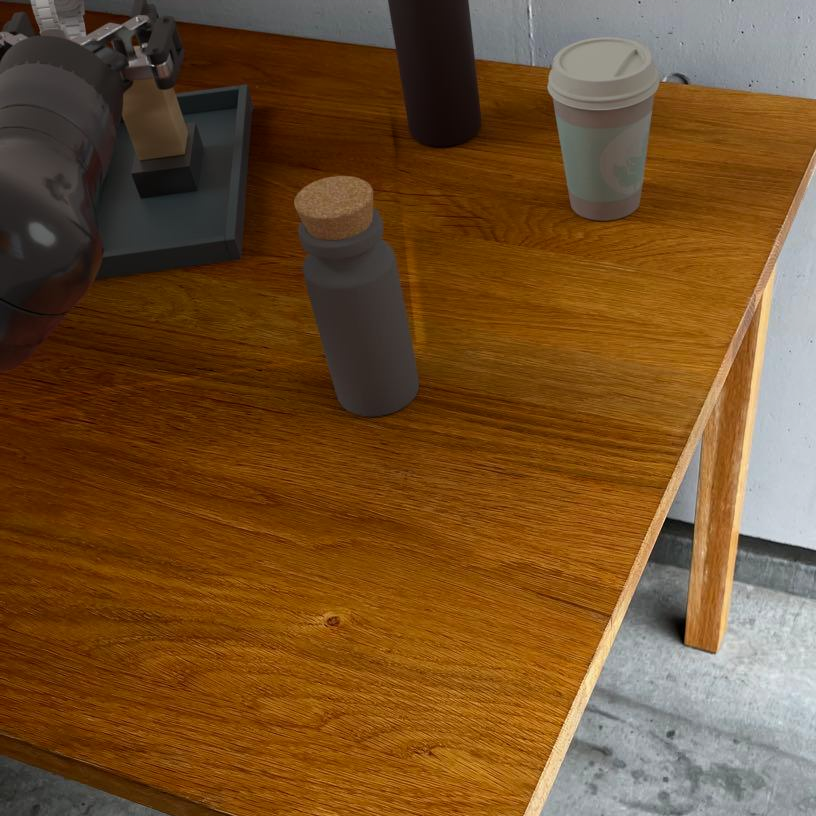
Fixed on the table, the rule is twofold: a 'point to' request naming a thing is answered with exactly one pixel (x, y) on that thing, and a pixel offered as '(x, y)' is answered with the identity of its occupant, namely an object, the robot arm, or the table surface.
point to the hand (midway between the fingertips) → (85, 18)
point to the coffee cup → (604, 122)
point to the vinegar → (437, 69)
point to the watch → (60, 17)
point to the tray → (181, 194)
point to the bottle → (356, 297)
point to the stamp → (161, 141)
